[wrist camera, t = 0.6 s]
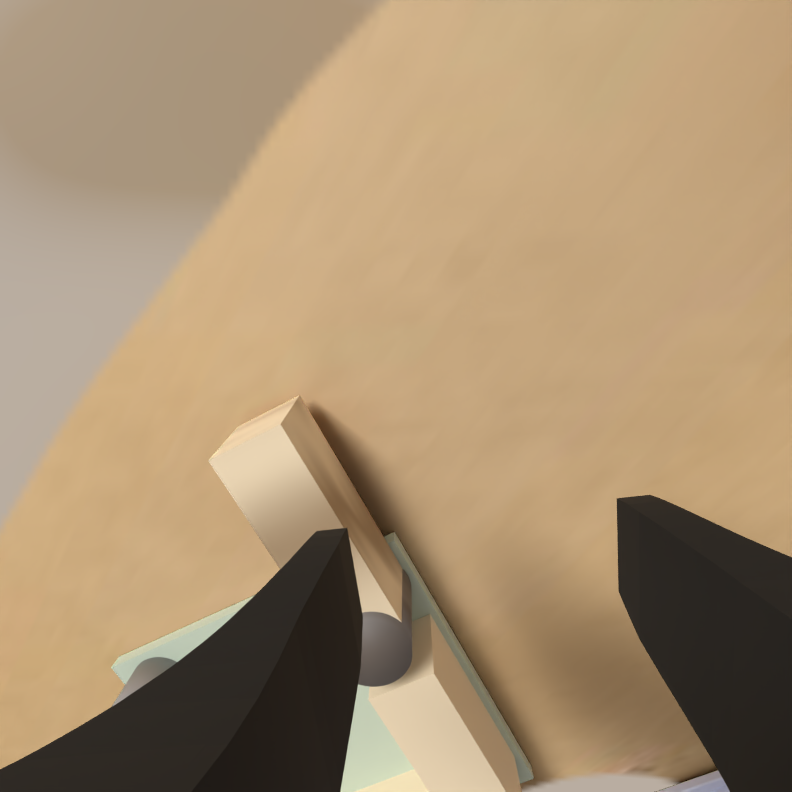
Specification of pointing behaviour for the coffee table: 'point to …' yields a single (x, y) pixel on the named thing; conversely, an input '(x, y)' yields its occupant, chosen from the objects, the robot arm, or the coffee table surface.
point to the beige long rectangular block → (319, 522)
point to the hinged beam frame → (394, 708)
